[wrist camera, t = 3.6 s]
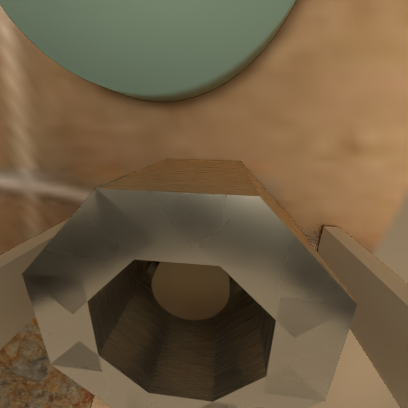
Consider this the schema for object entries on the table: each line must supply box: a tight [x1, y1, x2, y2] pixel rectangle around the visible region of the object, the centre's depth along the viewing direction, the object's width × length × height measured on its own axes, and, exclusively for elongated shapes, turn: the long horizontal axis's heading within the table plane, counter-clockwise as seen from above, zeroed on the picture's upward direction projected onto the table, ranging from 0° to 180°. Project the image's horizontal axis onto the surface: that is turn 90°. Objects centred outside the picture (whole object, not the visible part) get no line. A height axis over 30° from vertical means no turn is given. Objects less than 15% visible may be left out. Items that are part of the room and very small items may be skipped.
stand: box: [152, 261, 230, 320], centre depth 10 cm, size 4×4×4 cm
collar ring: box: [22, 159, 358, 408], centre depth 9 cm, size 9×9×6 cm
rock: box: [0, 316, 95, 408], centre depth 13 cm, size 9×6×10 cm
